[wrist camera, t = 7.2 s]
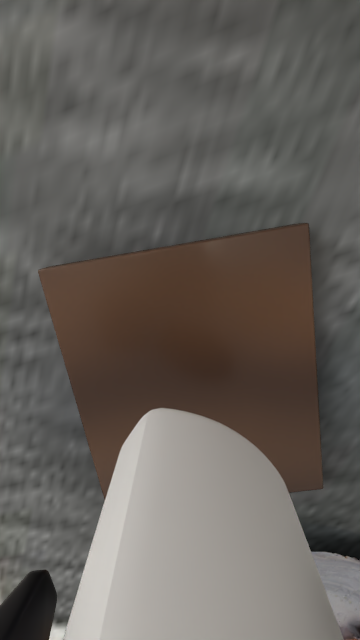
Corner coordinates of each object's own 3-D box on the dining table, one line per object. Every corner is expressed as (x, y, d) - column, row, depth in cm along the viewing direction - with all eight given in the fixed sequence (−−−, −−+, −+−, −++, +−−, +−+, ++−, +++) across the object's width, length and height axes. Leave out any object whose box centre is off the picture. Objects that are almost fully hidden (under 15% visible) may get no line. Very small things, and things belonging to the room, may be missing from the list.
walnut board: (315, 472, 18) (323, 489, 17) (113, 497, 19) (108, 515, 18) (299, 223, 15) (309, 222, 13) (47, 266, 15) (36, 270, 14)
